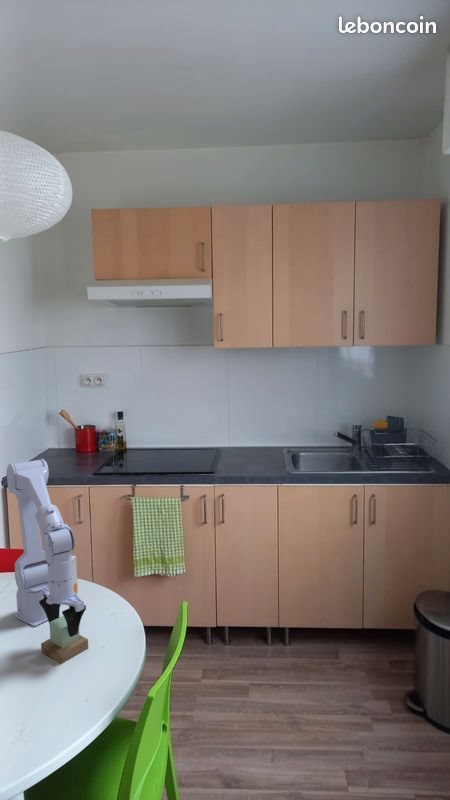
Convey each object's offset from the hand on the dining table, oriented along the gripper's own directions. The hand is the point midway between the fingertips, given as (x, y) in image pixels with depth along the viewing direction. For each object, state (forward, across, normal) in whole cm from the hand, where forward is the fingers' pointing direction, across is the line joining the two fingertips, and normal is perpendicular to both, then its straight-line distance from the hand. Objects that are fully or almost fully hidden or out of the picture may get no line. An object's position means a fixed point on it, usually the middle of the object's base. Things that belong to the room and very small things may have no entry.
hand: (63, 630), depth 139 cm
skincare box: (+6, -23, +18) cm, 30 cm away
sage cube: (+3, 0, 0) cm, 3 cm away
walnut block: (+6, 0, 0) cm, 6 cm away
